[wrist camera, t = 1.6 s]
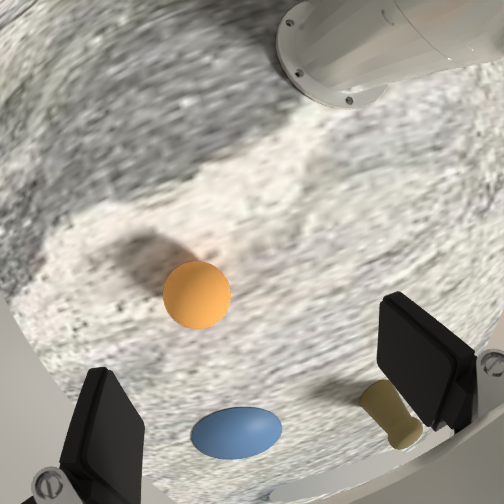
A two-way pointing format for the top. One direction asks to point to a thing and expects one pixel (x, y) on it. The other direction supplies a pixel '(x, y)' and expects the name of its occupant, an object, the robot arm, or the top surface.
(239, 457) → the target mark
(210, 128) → the top surface
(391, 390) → the olive chess pawn
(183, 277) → the ball
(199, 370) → the top surface
